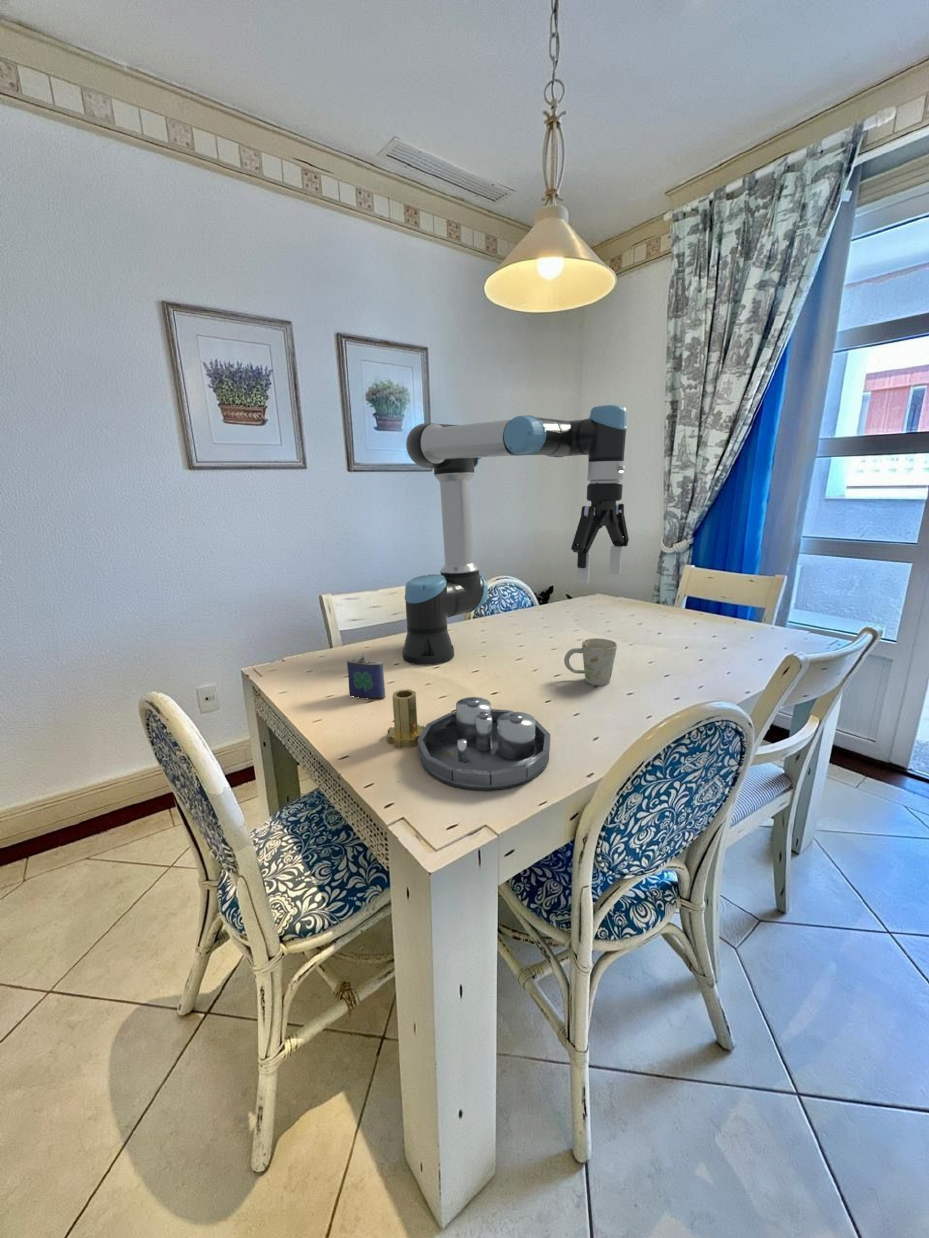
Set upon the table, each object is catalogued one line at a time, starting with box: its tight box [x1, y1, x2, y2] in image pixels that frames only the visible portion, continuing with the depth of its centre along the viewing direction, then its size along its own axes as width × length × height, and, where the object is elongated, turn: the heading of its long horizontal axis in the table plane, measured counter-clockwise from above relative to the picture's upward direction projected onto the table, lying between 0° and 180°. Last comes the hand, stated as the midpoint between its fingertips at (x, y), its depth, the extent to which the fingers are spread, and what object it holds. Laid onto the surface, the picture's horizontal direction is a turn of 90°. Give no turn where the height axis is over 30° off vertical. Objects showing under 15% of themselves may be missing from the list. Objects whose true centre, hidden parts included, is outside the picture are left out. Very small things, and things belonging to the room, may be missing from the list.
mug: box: [563, 637, 618, 686], centre depth 123 cm, size 8×13×10 cm, turn 78°
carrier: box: [416, 696, 551, 792], centre depth 91 cm, size 24×24×8 cm
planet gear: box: [386, 689, 425, 749], centre depth 97 cm, size 8×8×10 cm
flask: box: [346, 653, 386, 700], centre depth 117 cm, size 9×3×11 cm, turn 74°
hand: (599, 578), depth 113 cm, fingers open, 13 cm apart
